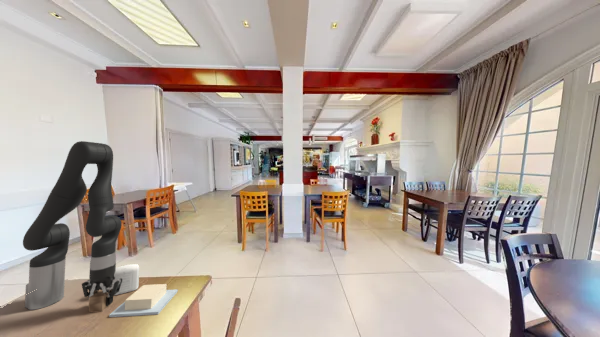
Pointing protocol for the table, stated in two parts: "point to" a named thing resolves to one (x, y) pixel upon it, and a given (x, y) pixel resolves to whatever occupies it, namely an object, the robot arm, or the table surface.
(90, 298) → the walnut block
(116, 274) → the photo printer
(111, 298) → the robot arm
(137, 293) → the butter dish
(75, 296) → the table surface
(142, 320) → the table surface
